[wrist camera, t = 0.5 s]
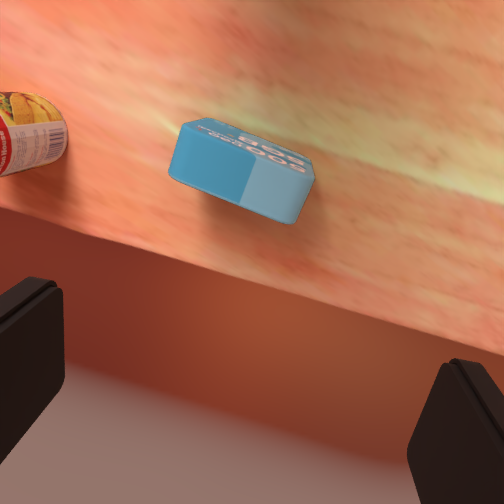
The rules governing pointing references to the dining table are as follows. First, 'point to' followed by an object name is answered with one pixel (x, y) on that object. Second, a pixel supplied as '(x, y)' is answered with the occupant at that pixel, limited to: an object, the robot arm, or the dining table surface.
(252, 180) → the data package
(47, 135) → the canned food
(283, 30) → the dining table surface
